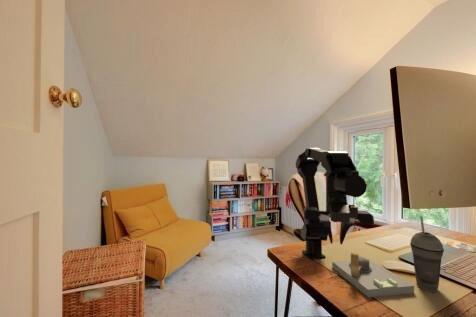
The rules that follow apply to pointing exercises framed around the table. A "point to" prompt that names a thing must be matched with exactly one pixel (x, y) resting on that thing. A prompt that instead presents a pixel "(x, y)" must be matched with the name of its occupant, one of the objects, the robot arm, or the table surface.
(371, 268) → the stand base
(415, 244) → the beverage cup
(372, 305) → the table surface
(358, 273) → the cam lever
